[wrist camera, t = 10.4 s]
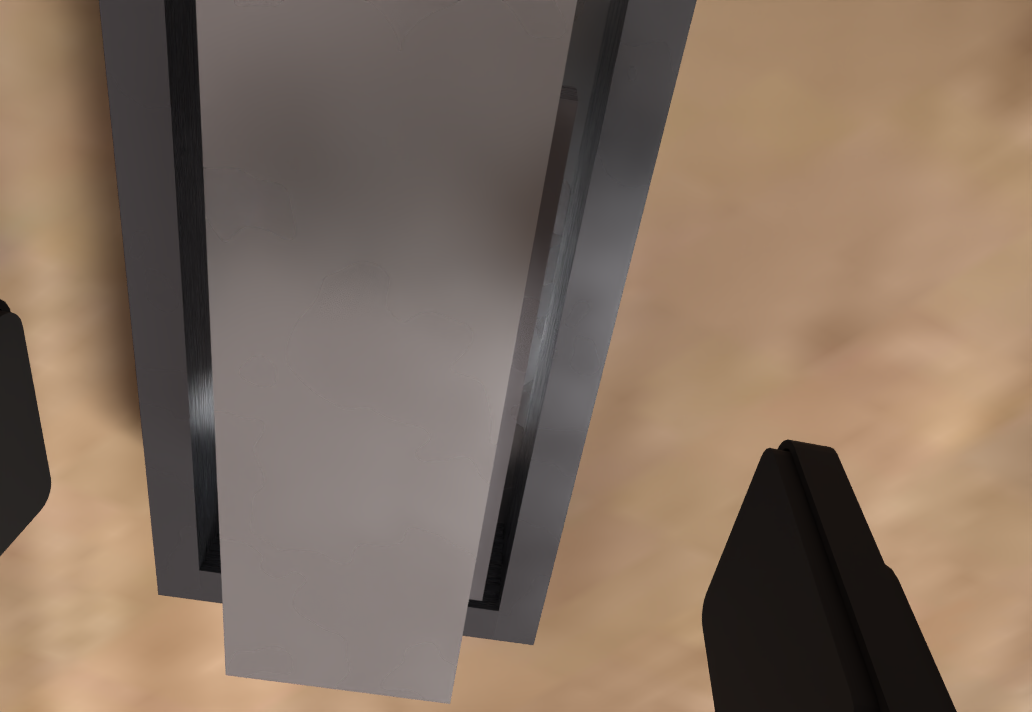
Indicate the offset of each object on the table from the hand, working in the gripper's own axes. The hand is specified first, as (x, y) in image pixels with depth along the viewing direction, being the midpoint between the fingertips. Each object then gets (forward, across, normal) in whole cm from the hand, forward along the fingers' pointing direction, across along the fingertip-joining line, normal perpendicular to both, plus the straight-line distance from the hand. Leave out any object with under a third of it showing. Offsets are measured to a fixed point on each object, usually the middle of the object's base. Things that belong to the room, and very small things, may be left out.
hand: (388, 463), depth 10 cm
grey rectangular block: (+8, +1, 0) cm, 8 cm away
